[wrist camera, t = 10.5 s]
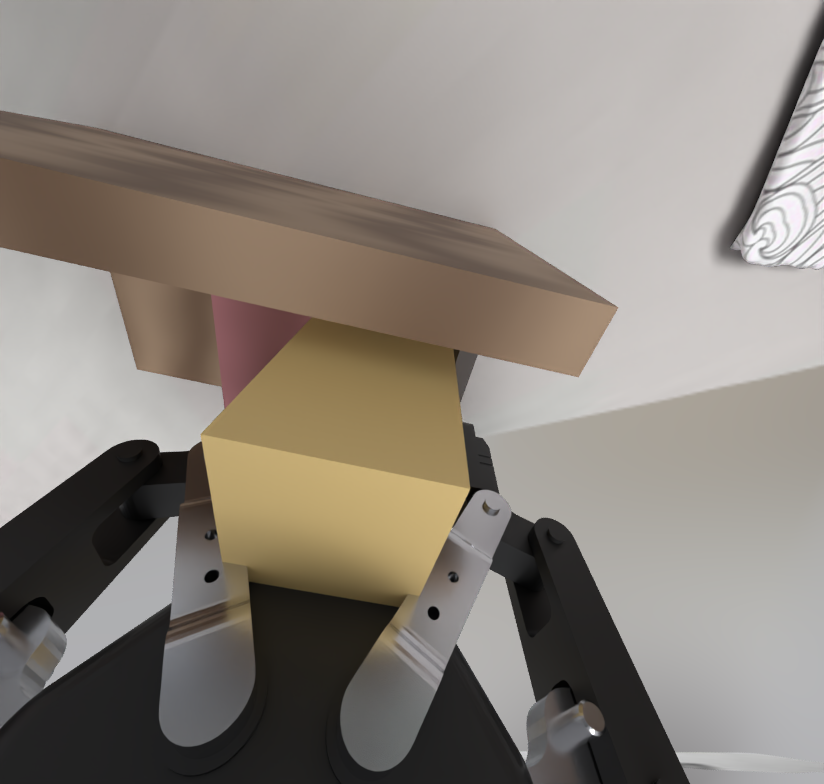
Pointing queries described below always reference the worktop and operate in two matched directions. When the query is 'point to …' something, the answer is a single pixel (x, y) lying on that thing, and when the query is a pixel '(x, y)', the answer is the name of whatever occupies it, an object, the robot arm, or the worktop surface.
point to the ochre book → (341, 465)
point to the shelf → (275, 259)
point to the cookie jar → (793, 189)
